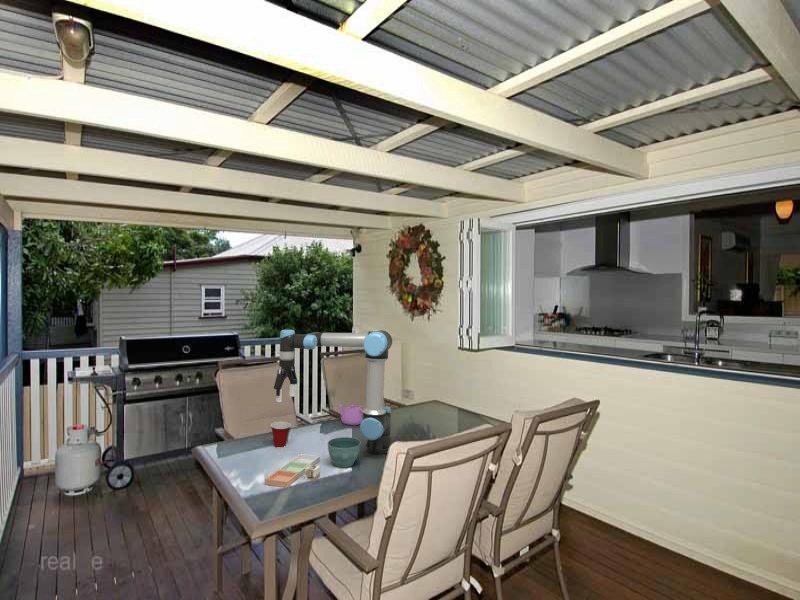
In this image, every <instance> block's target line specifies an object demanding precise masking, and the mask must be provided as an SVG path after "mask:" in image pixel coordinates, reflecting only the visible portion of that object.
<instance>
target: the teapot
mask: <svg viewBox="0 0 800 600" xmlns="http://www.w3.org/2000/svg"><path fill="white" fill-rule="evenodd" d="M337 405H338V406H339V413H340V417H341V419H340V420H341V422H342V423H343V424H344V425H348V426H357V425H360V424H361V422H362V420H363V410H364V409H362V408H361V407H360V406H356V405H355V404H351V405H350V406H347V407H344V408H343V405H342V404H341V403H338V404H337Z"/></svg>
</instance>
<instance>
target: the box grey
mask: <svg viewBox="0 0 800 600" xmlns="http://www.w3.org/2000/svg"><path fill="white" fill-rule="evenodd" d="M320 458H321V456H320V455H314V454H313V455H312V454H304V453H300V454H298V455H296V456H295V457H294V458H292V459H291V460H290V462H298V463H305V464H310V465H316V466H317V464H318V463H320V460H321V459H320Z"/></svg>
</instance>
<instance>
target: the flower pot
mask: <svg viewBox="0 0 800 600" xmlns="http://www.w3.org/2000/svg"><path fill="white" fill-rule="evenodd" d="M361 445H362V441H361V440H360V439H359V438H356V437H349V436H348V437H347V436H345V437H344V436H342V437H341V436H340V437H335V438H332V439H329V440H328V441H327V450H328V454H329V457H330V459H331V460H332V462H333V465H334V466H335V467H337V468H350V467H352V466H353V465H354V463H355V461H356V460H357V458H358V456H359V453H360V451H361Z"/></svg>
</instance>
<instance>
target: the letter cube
mask: <svg viewBox="0 0 800 600" xmlns="http://www.w3.org/2000/svg"><path fill="white" fill-rule="evenodd" d="M320 477H321V465H317V464H316V465H309V466H308V467H307V468H306V469H305V474H304V481H313V482H316V481H318V479H319V478H320Z"/></svg>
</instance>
